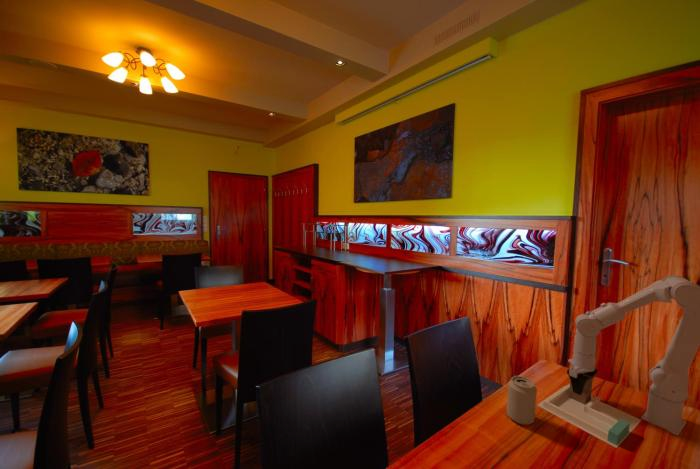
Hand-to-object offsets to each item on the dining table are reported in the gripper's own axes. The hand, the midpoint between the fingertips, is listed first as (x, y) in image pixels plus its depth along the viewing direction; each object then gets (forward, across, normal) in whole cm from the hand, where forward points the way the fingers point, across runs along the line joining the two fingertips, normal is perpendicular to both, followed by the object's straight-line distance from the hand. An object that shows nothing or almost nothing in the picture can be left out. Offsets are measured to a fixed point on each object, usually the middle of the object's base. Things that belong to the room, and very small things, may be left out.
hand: (580, 390), depth 103 cm
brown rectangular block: (+3, 0, 0) cm, 3 cm away
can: (+4, +25, -6) cm, 26 cm away
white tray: (+3, +6, +4) cm, 8 cm away
